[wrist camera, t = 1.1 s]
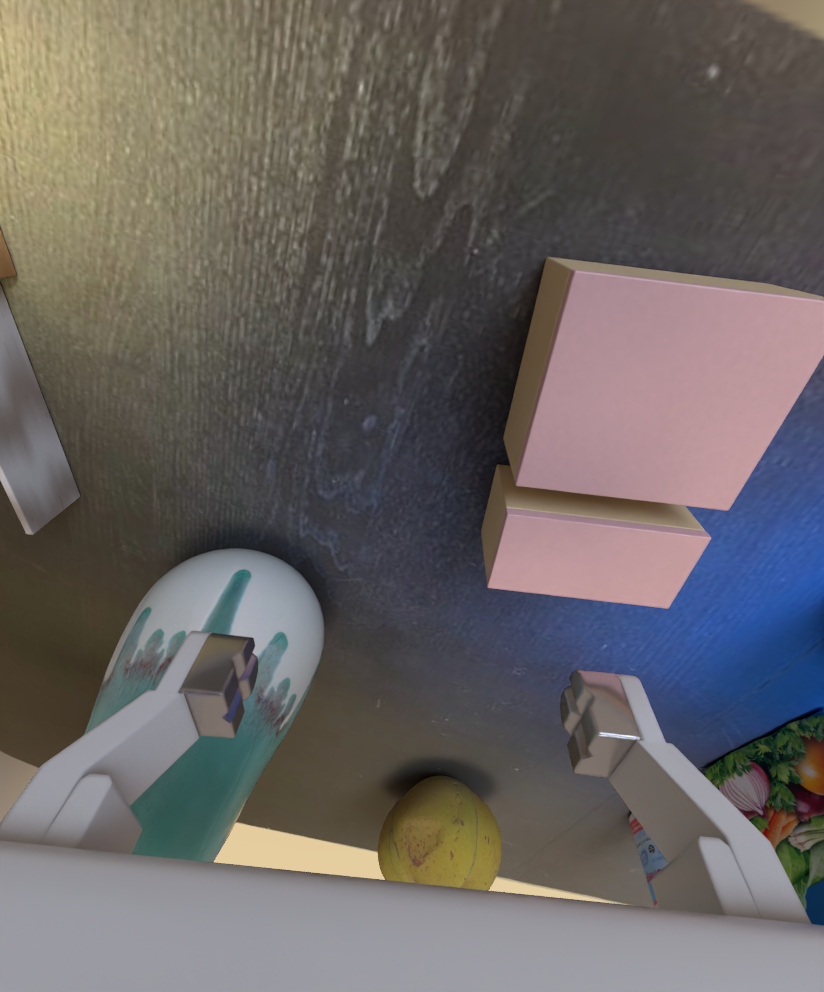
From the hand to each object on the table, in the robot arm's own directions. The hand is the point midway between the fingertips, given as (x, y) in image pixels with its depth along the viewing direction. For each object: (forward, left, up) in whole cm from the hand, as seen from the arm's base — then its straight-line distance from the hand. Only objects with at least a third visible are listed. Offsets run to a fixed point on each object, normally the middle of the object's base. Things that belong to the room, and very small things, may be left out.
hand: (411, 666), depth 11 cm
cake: (-4, +9, -16) cm, 18 cm away
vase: (+15, -11, -16) cm, 24 cm away
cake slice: (+5, +9, -16) cm, 19 cm away
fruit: (+41, +6, -16) cm, 44 cm away
